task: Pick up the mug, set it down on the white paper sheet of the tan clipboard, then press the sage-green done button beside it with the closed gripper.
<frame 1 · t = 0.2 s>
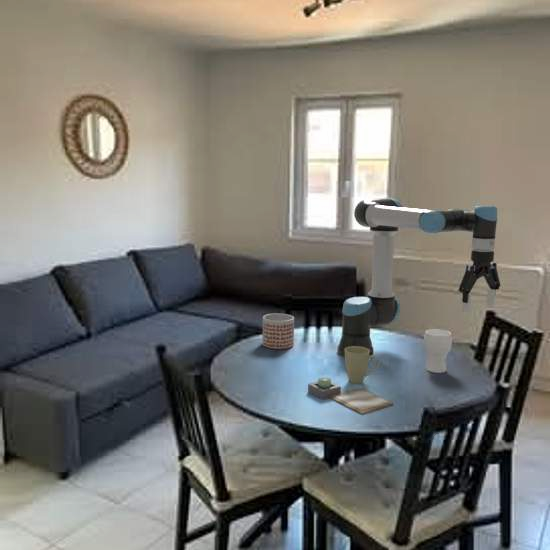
hand: (478, 309, 203), 28 cm above the table, fingers open, 13 cm apart
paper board: (360, 401, 190), on the table
cup: (435, 370, 222), on the table
planter: (278, 345, 250), on the table
done button: (324, 383, 196), point 4 cm above the table, slide at 0.0 cm
button housing: (324, 393, 197), on the table
mug: (358, 381, 208), on the table
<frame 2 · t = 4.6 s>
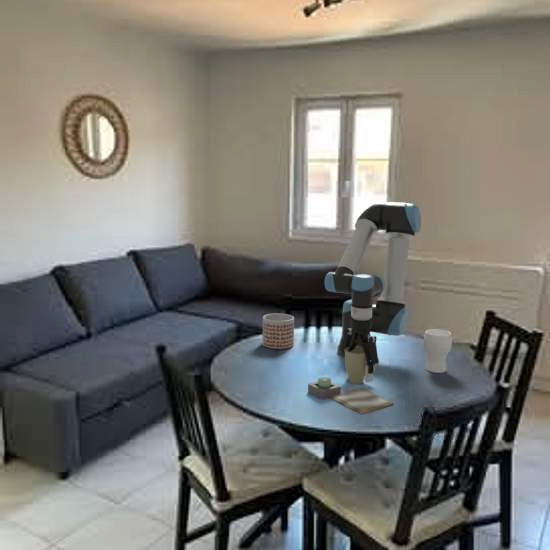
hand: (358, 377, 208), 2 cm above the table, fingers closed on mug, 9 cm apart
mug: (358, 381, 208), on the table, touching gripper
everything else where it was.
when the fingers open (3 cm above the table, at t = 10.4 s): mug stays where it is, resting on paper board.
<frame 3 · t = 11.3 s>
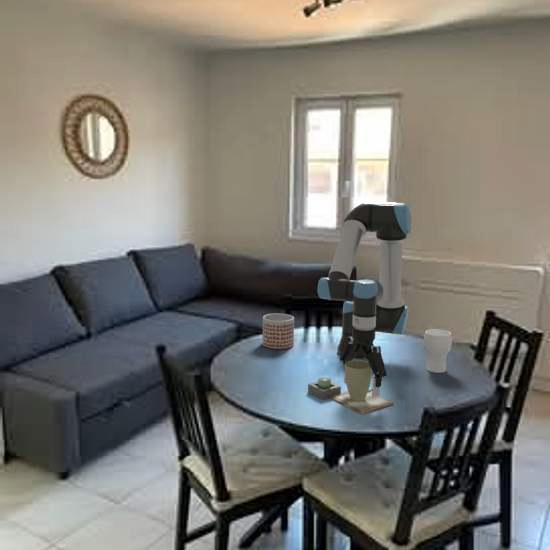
hand: (361, 389, 190), 4 cm above the table, fingers open, 13 cm apart
mug: (360, 399, 190), point 1 cm above the table, touching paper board
everything else where it was.
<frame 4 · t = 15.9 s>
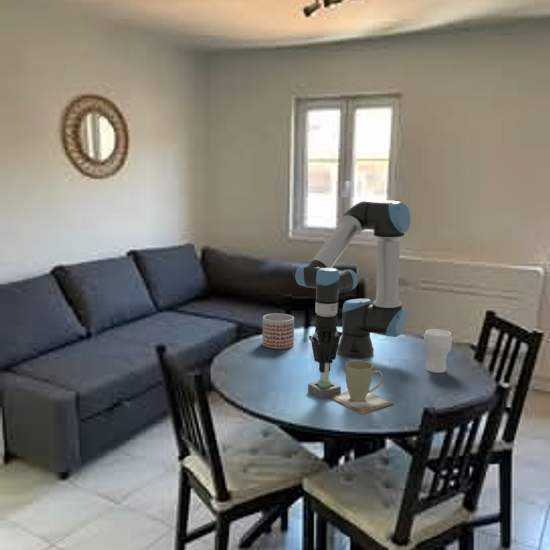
hand: (324, 380, 196), 5 cm above the table, fingers closed
done button: (324, 384, 196), point 3 cm above the table, slide at 0.5 cm, touching gripper
everything else where it was.
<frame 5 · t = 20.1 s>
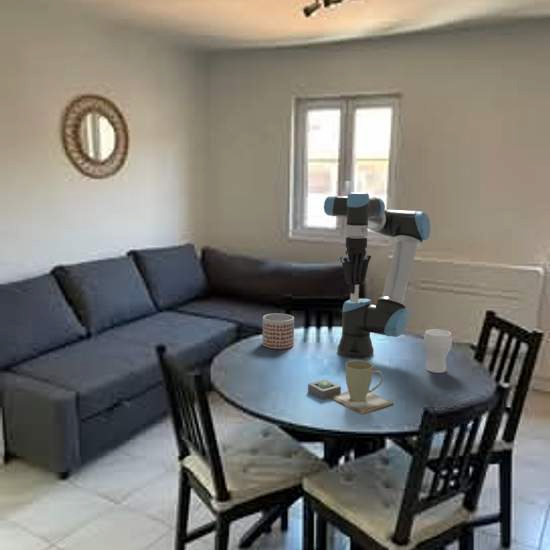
hand: (354, 301, 205), 29 cm above the table, fingers closed
done button: (324, 387, 196), point 2 cm above the table, slide at 1.4 cm
everything else where it was.
at the end: mug inside the target area on the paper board (0.1 cm from its centre), point 0.6 cm above the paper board's base; mug tilted 0°; mug touching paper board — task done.
